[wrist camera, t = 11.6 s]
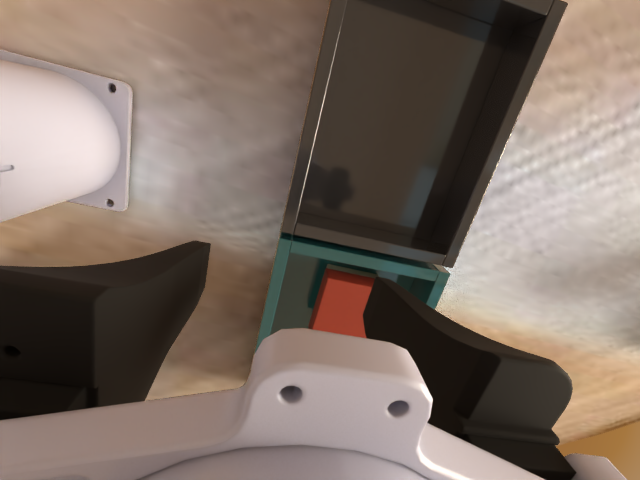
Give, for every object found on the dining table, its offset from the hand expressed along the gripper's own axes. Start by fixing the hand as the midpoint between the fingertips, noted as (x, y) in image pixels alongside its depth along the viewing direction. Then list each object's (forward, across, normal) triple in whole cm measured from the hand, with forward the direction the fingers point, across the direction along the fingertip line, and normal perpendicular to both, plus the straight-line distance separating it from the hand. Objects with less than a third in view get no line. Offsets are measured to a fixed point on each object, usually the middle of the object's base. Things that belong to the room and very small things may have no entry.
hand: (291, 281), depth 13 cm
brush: (+9, -5, +8) cm, 13 cm away
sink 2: (+9, -5, -8) cm, 13 cm away
